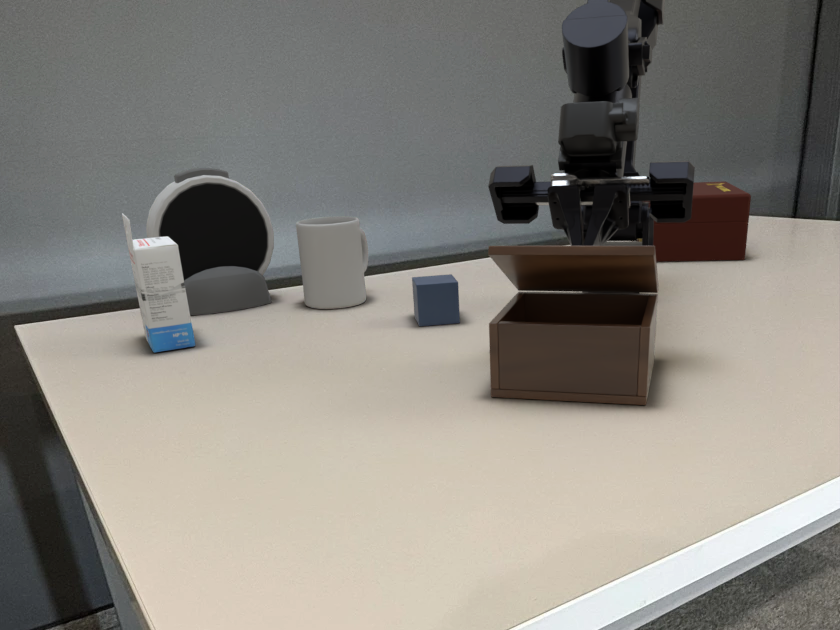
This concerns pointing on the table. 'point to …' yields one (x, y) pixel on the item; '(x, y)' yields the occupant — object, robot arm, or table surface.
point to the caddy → (574, 347)
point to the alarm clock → (216, 239)
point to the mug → (332, 261)
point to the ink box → (160, 291)
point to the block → (436, 300)
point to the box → (707, 226)
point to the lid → (579, 268)
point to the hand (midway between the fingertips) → (580, 268)
